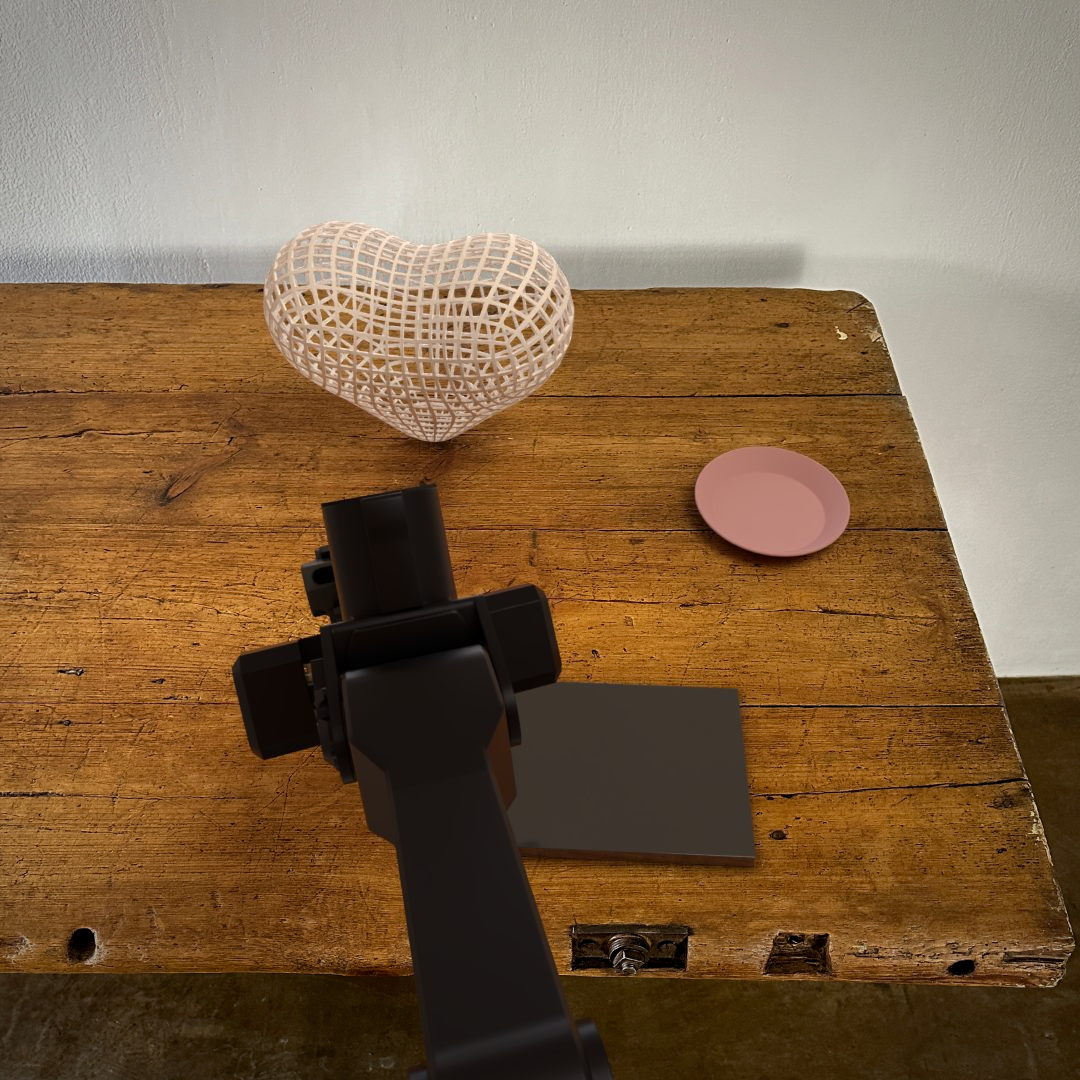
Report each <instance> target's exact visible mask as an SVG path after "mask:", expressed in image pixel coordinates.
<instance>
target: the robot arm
mask: <svg viewBox="0 0 1080 1080" xmlns="http://www.w3.org/2000/svg"><path fill="white" fill-rule="evenodd" d="M438 489H439V488H438V484H437V483H430V484H423V485H418V486H412V487H405V488H401V489H395V490H390V491H389V490H388V491H384V492H379V493H372V494H367V495H360V496H356V497H355V496H354V497H350V498H343V499H339V500H338V499H337V500H332V501H326V502H322V503H320V509H321V513H322V519H323V524H324V529H325V536H326V540H327V545H322V546H319V547H318V548H316V549H314V550H313V552H314V556H315V559H313V560H312V561H308V562H304V563H302V564H301V565H300V573H301V577H302V581H303V586H304V592H305V595H306V598H307V602H308V606H309V609H310V613H311V615H312V617H314V618H318V617H322V616H327V617H328V618H329V622H330V623H327V624H322V625H319V633H318V634H314V635H309V636H306V637H302V638H298V639H294V640H287V641H281V642H277V643H274V644H270V645H265V646H262V647H257V648H253V649H248V650H246V651H241V652H240V654H239V655H238V657H237V658H236V660H235V662H234V663H233V664H232V666H231V673H232V674H231V675H232V680H233V684H234V688H235V692H236V696H237V701H238V705H239V709H240V713H241V718H242V722H243V726H244V730H245V734H246V738H247V742H248V743H247V744H248V746H249V749H250V751H251V753H252V754H253V755H255V756H256V757H258V758H259V759H261V760H262V761H267V760H272V759H275V758H279V757H283V756H287V755H290V754H294V753H298V752H302V751H305V750H308V749H312V748H316V747H319V746H320V748H321V753H322V757H323V760H324V761H325V762H326V763H327V764H329V765H331V766H332V767H334V768H335V770H336V771H337V773H339V775H340V779H341V782H342V784H343V786H346V785H347V786H348V785H351V784H355V783H357V786H358V790H359V794H360V800H361V804H362V808H363V809H362V810H363V813H364V817H365V822H366V827H367V830H368V831H369V832H371V833H372V834H373V835H376V837H379V838H380V839H382V840H385V841H386V842H388V843H389V844H391V845H392V846H394V848H395V854H396V855H395V856H396V861H397V869H398V874H399V882H400V887H401V896H402V902H403V903H402V904H403V909H404V918H405V923H406V930H407V936H408V945H409V950H410V957H411V963H412V970H413V978H414V984H415V990H416V992H415V993H416V998H417V1004H418V1005H417V1006H418V1012H419V1017H420V1025H421V1031H422V1032H421V1033H422V1039H423V1045H424V1053H425V1060H426V1062H423V1063H418V1064H415V1065H412V1066H408V1067H407V1079H408V1080H615V1079H614V1076H613V1072H612V1068H611V1064H610V1061H609V1058H608V1055H607V1051H606V1048H605V1044H604V1043H603V1039H602V1037H601V1034H600V1032H599V1029H598V1027H597V1024H596V1022H595V1021H594V1019H593V1018H592V1017H591V1016H587V1017H584V1018H580V1019H577V1020H575V1019H574V1017H573V1014H572V1011H571V1008H570V1005H569V1002H568V998H567V996H566V993H565V989H564V985H563V983H562V980H561V977H560V974H559V970H558V967H557V965H556V961H555V958H554V955H553V952H552V949H551V945H550V942H549V939H548V935H547V933H546V930H545V926H544V924H543V920H542V917H541V915H540V911H539V908H538V905H537V901H536V899H535V895H534V893H533V889H532V887H531V883H530V880H529V877H528V874H527V871H526V867H525V864H524V861H523V858H522V856H521V855H520V852H519V849H518V845H517V842H516V839H515V836H514V833H513V830H512V827H511V824H510V820H509V817H508V814H507V811H508V809H509V808H510V806H511V804H512V803H513V801H514V800H515V798H516V796H517V791H516V784H515V776H514V769H513V762H512V755H511V747H515V746H519V745H521V742H522V740H521V727H520V720H519V714H518V709H517V704H516V699H515V695H514V694H516V693H520V692H524V691H527V690H531V689H535V688H539V687H542V686H546V685H550V684H554V683H556V682H557V681H558V680H559V678H560V676H561V674H562V672H563V662H562V658H561V653H560V649H559V644H558V639H557V635H556V630H555V626H554V621H553V617H552V613H551V612H552V611H551V608H550V604H549V599H548V597H547V595H546V592H545V591H544V590H543V589H542V588H540V587H539V586H537V585H536V584H535V583H530V582H526V583H522V584H518V585H512V586H509V587H505V588H501V589H497V590H493V591H489V592H486V593H480V594H475V595H471V596H465V597H459V598H458V593H457V587H456V582H455V577H454V571H453V566H452V560H451V555H450V549H449V543H448V539H447V538H448V537H447V533H446V528H445V522H444V515H443V512H442V511H443V510H442V506H441V500H440V495H439V490H438Z"/></svg>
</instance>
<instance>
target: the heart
mask: <svg viewBox="0 0 1080 1080" xmlns="http://www.w3.org/2000/svg"><path fill="white" fill-rule="evenodd" d="M324 232H328V233H324ZM318 239H322V241H321V242H317V241H318ZM328 240H333V242H332V243H329V242H328ZM306 241H307V243H304V244H302V242H306ZM340 241H344V242H345V241H346V242H349V246H348V245H344V244H340ZM327 242H328V243H327ZM374 243H375V244H374ZM354 244H356V246H354ZM377 244H378V245H377ZM492 244H493V245H499V246H492ZM478 245H484V246H478ZM500 245H501V246H500ZM362 246H364V247H362ZM475 246H476V247H475ZM385 247H387V248H385ZM388 248H389V249H388ZM316 252H318V253H316ZM323 252H330V254H325V253H323ZM339 252H350V258H349V257H345V256H342V255H341V256H340V255H339ZM496 252H497V253H502V257H500V256H494V255H493V256H492V254H491V253H496ZM421 254H422V255H421ZM423 254H425V255H423ZM299 255H300V256H299ZM359 255H362V256H365V257H366V262H364V261H361V260H359ZM453 255H456V256H453ZM449 256H451V257H449ZM513 256H516V257H517V259H512V257H513ZM371 258H372V259H374V262H373V264H372V263H371ZM400 258H402V259H405V261H403V260H401V259H400ZM314 259H317V263H314V262H315V261H314ZM538 259H539V260H538ZM323 260H330V261H329V262H327V261H326V262H323ZM301 261H302V266H300V267H296V263H297V262H301ZM415 261H417V262H418V263H415ZM472 261H473V263H474V265H470V266H466V267H464V263H465V262H472ZM486 261H487V262H486ZM379 262H380V266H379ZM385 263H387V264H389V265H390V264H391V265H392V266H391V270H390V269H387V268H385ZM455 263H457V265H456V268H450V265H451V264H455ZM509 265H512V266H515V267H518V268H519V274H517V273H514V272H512V271H509V270H510V269H509ZM496 266H501V268H496ZM286 267H287V272H286ZM339 267H350V271H347V270H342V269H339ZM398 267H402V268H403V267H404V268H405V269H406V272H401V271H400V272H399V271H398ZM437 267H438V269H437ZM358 268H359V269H365V275H362V274H359V273H357V269H358ZM429 268H432V270H431V269H429ZM444 268H446V269H444ZM539 269H540V270H542V271H543V272H545V273H544V274H545V276H544V275H542V274H541V273H540V272H539ZM370 271H372V274H371V277H370ZM412 271H415V272H418V273H412ZM525 271H526V273H525ZM279 272H280V276H279V277H278V273H279ZM471 272H474V275H473V276H472V279H470V280H469V279H467V275H466V273H471ZM482 272H485V273H490V276H491V277H490V278H485V279H482V277H481V273H482ZM315 273H319V278H320V280H319V281H316V277H315ZM324 273H325V274H330V278H327V279H325V274H324ZM377 273H379V279H377V278H376V277H377ZM302 274H304V277H305V278H304V279H305V280H306V285H300V286H299V283H298V279H297V276H298V275H302ZM460 274H462V279H463V280H459V278H460V276H461V275H460ZM496 274H497V276H496ZM384 275H385V276H388V277H389V281H388V282H385V281H383V280H384ZM452 275H453V277H452ZM532 275H533V277H532ZM340 276H344V277H340ZM442 276H447V279H448V281H447V282H441V279H442ZM347 277H349V278H347ZM432 277H433V281H434V284H433V283H427V282H426V278H432ZM415 279H419V280H415ZM286 280H289V284H290V285H289V286H290V288H288V284H287V282H286ZM397 280H400V281H402V282H404V285H401V284H397ZM511 281H520V284H519V286H518V288H514V287H512V286H511V285H512V284H511ZM341 282H344V283H350V286H349V288H345V287H342V286H341ZM501 282H506V285H505V284H502V283H501ZM330 283H331V285H327V284H330ZM555 283H556V284H555ZM280 284H282V287H283V290H284V291H283V292H282V293H281V291H280V287H279V285H280ZM357 285H360V286H364V287H363V291H359V290H357ZM527 285H528V286H529V287H531V288H532V289H533V290H534V293H530V292H526V286H527ZM540 285H544V286H546V287H545V289H543V288H542V287H540ZM477 286H479V287H478V288H479V292H480V296H481V297H472V295H473V293H474V290H475V288H476V287H477ZM484 287H491V288H490V290H489V292H488V295H487V296H485V290H484ZM368 288H370V293H367V291H368ZM457 289H464V291H465V296H463V297H455V291H456V290H457ZM498 289H500V290H503V291H506V292H507V294H506V293H505V294H499V291H498ZM318 290H322V291H326V294H327V296H326V297H324V298H322V299H320V298H319V295H318ZM375 290H377V292H376V295H375ZM398 290H402V291H403V292H402V291H398ZM427 290H432V294H431V298H427V297H425V291H427ZM440 290H448V294H447V298H440ZM307 291H309V292H310V293H311V295H312V297H313V302H314V303H313V304H308V302H307V301H306V299H305V297H304V296H303V293H305V292H307ZM331 291H332V292H331ZM410 291H417V295H412V294H410ZM382 292H384V293H387V296H386V298H385V297H381V293H382ZM552 292H553V294H554V296H555V297H556V299H555V302H554V301H553V299H552V298H551V294H552ZM273 293H274V295H275V300H274V297H273ZM340 293H341V294H342V295H344V296H346V297H347V298H346V299H345V300H344V302H343V303H342V304H341V303H340V302H339V299H338V295H340ZM395 296H397V297H401V298H402V300H395ZM562 296H563V297H562ZM572 296H573V295H572V292H571V289H570V283H569V281H568V278H567V277H566V275H565V274H564V272H563V271H562V269H561V268H560V265H559V264H558V263H557V261H556V260H555V258H554V257H553V256H552V255H551V254H550V253H549V252H548V251H546V250H545V249H544V248H542V247H541V245H538V244H537V243H536V242H535V241H532V240H530V239H528V238H524V237H523V236H519V235H516V234H513V233H507V232H485V233H479V234H473V235H472V234H471V235H468V236H463V237H461V238H457V239H453V240H449V241H445V242H440V243H435V244H433V243H432V244H421V243H417V242H411V241H409V240H406V239H404V238H401V237H399V236H397V235H395V234H392V233H391V232H388V231H386V230H383V229H381V228H379V227H375V226H373V225H370V224H367V223H363V222H357V221H349V220H348V221H347V220H331V221H325V222H322V223H318V224H314V225H312V226H309V227H307V228H305V229H303V230H302V231H300V232H299V233H297V234H296V235H295V236H294V237H292V238H291V239H289V240H288V241H287V242H286V243H285V244H283V246H282V247H281V248H280V249H279V251H278V252H277V254H276V255H275V257H274V259H273V261H272V263H271V265H270V266H269V269H268V271H267V274H266V276H265V279H264V286H263V300H262V301H263V304H262V305H263V315H264V320H265V324H266V326H267V328H268V331H269V333H270V336H271V339H272V340H273V342H274V344H275V346H276V348H277V349H278V351H279V353H280V354H281V355H282V356H283V357H284V358H285V360H286V361H287V362H288V363H289V364H290V365H291V366H292V367H293V368H294V369H295V370H296V371H297V372H299V373H300V374H301V375H302V376H304V377H305V378H306V379H308V380H309V381H311V382H313V383H314V384H316V385H317V386H319V387H320V388H322V389H324V390H325V391H328V392H330V393H331V394H333V395H335V396H337V397H339V398H341V399H344V400H345V401H347V402H349V403H351V404H353V405H354V406H356V407H358V408H360V409H361V410H363V411H365V412H366V413H368V414H370V415H372V416H374V417H375V418H377V419H379V420H381V422H384V423H386V424H388V425H389V426H391V427H392V428H394V429H396V430H398V431H399V432H400V433H403V434H404V435H407V436H409V437H411V438H414V439H417V440H420V441H424V442H429V443H430V442H431V443H432V442H433V443H436V442H437V443H438V442H444V441H448V440H450V439H453V438H456V437H457V436H460V435H461V434H463V433H465V432H467V431H469V430H470V429H472V428H474V427H476V426H477V425H479V424H481V423H483V422H485V421H486V420H488V419H489V418H491V417H493V416H495V415H497V414H499V413H501V412H502V411H504V410H507V409H508V408H510V407H512V406H514V405H516V404H517V403H519V402H521V401H523V400H524V399H526V398H528V397H529V396H530V395H532V394H533V393H534V392H535V391H537V390H538V389H539V388H541V387H542V386H543V385H544V384H545V383H546V382H547V381H548V380H549V378H551V376H552V375H553V374H554V373H555V372H556V370H557V369H558V368H559V366H560V365H561V364H562V361H563V359H564V357H565V355H566V352H567V350H568V349H569V346H570V342H571V340H572V337H573V329H574V321H575V305H574V301H573V298H572ZM519 298H521V299H522V309H521V310H519V309H517V308H515V304H516V302H517V301H518V299H519ZM293 299H294V300H293ZM351 299H352V309H350V308H346V306H347V304H348V303H349V302H350V300H351ZM366 299H368V300H366ZM369 299H370V300H369ZM506 299H507V300H508V301H509V303H508V304H506V303H504V302H500V300H506ZM330 300H332V302H333V305H334V306H332V305H324V304H325V303H327V302H329V301H330ZM409 300H411V301H409ZM288 302H289V304H290V306H291V308H287V307H286V304H287V303H288ZM357 302H359V305H358V307H357ZM379 302H382V303H386V305H382V304H379ZM527 302H528V303H529V304H530V305H532V306H531V307H527ZM472 304H482V309H481V312H480V314H479V315H474V314H473V307H472V306H473V305H472ZM363 305H367V306H369V313H368V312H364V311H361V310H362V308H363ZM393 305H398V306H401V309H399V308H395V307H393ZM441 305H445V306H444V307H445V308H444V311H443V312H444V313H443V315H441V311H440V310H441V309H440V308H441V307H440V306H441ZM457 305H462V308H461V311H460V315H457V313H458V312H457ZM490 305H491V306H495V307H496V309H497V313H498V314H492V315H490V314H489V313H488V308H489V306H490ZM424 306H429V313H424ZM548 306H550V307H551V308H552V312H551V314H550V316H549V315H548V313H547V312H546V311H547V308H548ZM408 307H415V311H410V310H408ZM451 308H452V309H451ZM450 309H451V310H452V315H450ZM502 309H505V310H504V311H503V312H502ZM313 310H315V312H316V313H315V312H314V311H313ZM322 310H323V311H324V312H325V313H326V314H327V316H328V317H327V318H325V319H324V320H323V318H322V312H321V311H322ZM377 310H383V311H386V312H385V316H382V315H377V314H376V313H377V312H376V311H377ZM467 310H468V315H466V314H467ZM280 311H282V314H281V315H280ZM331 311H333V313H332V312H331ZM292 313H295V314H296V315H295V316H294V317H293V318H292V316H291V314H292ZM308 313H309V314H310V315H311V316H312V317H313V318H314V320H315V321H316V322H317V324H310V323H309V322H308V320H307V319H306V317H305V315H307V314H308ZM340 313H345V314H349V315H351V316H352V318H351V319H350V320H349V321H348V322H347V324H345V323H344V322H342V321H341V320H340ZM392 313H395V314H399V315H400V318H394V317H391V314H392ZM536 314H537V316H536ZM407 316H413V317H414V319H407ZM517 316H518V317H519V318H521V319H523V321H522V322H521V323H520V324H519V322H518V318H517ZM535 316H536V317H535ZM509 317H512V321H513V323H514V327H515V329H514V328H512V327H509V326H507V325H506V324H505V320H506V319H507V318H509ZM368 318H369V319H368ZM424 318H425V319H424ZM426 318H427V319H426ZM497 319H499V321H494V320H497ZM540 319H542V320H543V321H544V322H545V324H544V325H543V326H542V327H541V328H540V329H539V328H538V327H537V325H536V322H537V321H539V320H540ZM285 320H287V321H288V324H286V323H285ZM299 320H300V322H301V323H297V322H298V321H299ZM358 320H359V321H362V322H364V323H366V326H365V328H364V329H363V331H358V323H357V322H358ZM374 320H379V321H383V322H384V323H380V322H376V321H374ZM331 321H333V322H335V326H329V325H328V326H327V324H328V323H330V322H331ZM564 321H565V324H564ZM390 323H396V324H400V326H396V325H390ZM441 323H442V330H441ZM448 323H452V325H453V330H448ZM464 323H469V326H470V332H465V331H464V332H463V328H464V327H463V326H464ZM475 323H476V328H475ZM406 324H410V325H411V324H412V325H414V327H407V326H406ZM423 324H424V325H425V324H428V329H427V328H423ZM434 324H435V329H434V328H433V327H434V326H433V325H434ZM482 324H483V325H485V328H486V333H480V331H481V328H482ZM351 326H352V327H353V329H352V328H350V327H351ZM491 326H494V327H495V330H494V332H493V333H492V331H491ZM341 327H342V328H341ZM374 327H377V328H381V329H382V332H381V335H380V334H374ZM529 327H530V328H531V330H532V332H533V333H534V335H532V336H530V337H529V338H527V339H525V336H524V334H523V332H522V331H524V330H526V329H527V328H529ZM500 329H501V332H500ZM308 330H309V332H308ZM389 330H390V331H399V337H397V336H396V337H395V336H390V334H389V333H390V331H389ZM295 331H297V333H298V334H299V335H300V336H301V337H302V338H301V337H298V336H296V335H294V334H295ZM324 331H325V332H328V333H329V334H330V335H331V336H333V338H332V339H330V340H329V341H328V340H327V339H325V337H324V336H325V334H324ZM368 332H369V333H368ZM405 332H414V333H413V334H414V337H413V338H408V337H407V338H405ZM549 332H551V333H549ZM423 333H426V334H427V338H423ZM548 333H549V335H548V336H547V337H546V338H545V336H546V335H547V334H548ZM433 334H434V335H435V338H433ZM343 335H349V336H353V343H352V344H350V343H349V342H348V341H346V340H344V339H343V338H342V336H343ZM313 336H316V337H317V338H318V339H319V343H318V342H313V340H311V338H313ZM447 336H453V338H447ZM508 336H509V337H508ZM462 337H469V338H462ZM501 337H503V339H504V341H502V340H501V341H500V340H496V339H497V338H501ZM479 338H481V339H479ZM482 338H483V339H482ZM516 338H517V339H518V340H519V341H520V343H518V344H516V345H513V346H512V345H511V343H512V341H513V340H514V339H516ZM375 340H379V343H378V342H376V341H375ZM551 340H553V343H552V344H551V345H550V346H549V345H548V343H549V342H550V341H551ZM362 341H365V342H367V343H368V344H369V351H364V350H359V349H358V345H360V343H361V342H362ZM390 342H394V343H390ZM538 342H539V343H540V344H539V345H537V347H535V348H534V349H533V350H531V348H532V347H533V346H534V345H535V344H536V343H538ZM334 343H336V346H335V345H334V346H333V344H334ZM295 344H296V345H297V347H298V348H296V347H295ZM342 344H343V345H345V346H346V347H347V348H344V347H342V346H341V345H342ZM447 344H453V346H451V345H447ZM462 344H468V345H470V348H464V347H462ZM478 345H488V352H489V353H488V352H483V351H480V350H478ZM374 346H375V347H376V348H374ZM495 346H505V348H506V349H503V350H501V351H498V352H496V351H495ZM309 348H314V349H315V350H316V351H317V352H318V354H317V356H315V355H314V354H313V353H312V352H311V351H310V349H309ZM394 348H399V353H400V355H396V354H389V352H390V349H394ZM405 348H414V356H408V355H407V356H406V355H405ZM423 348H428V356H429V357H423ZM434 349H435V357H434ZM440 349H441V350H442V357H440V351H441V350H440ZM448 350H451V351H452V357H448ZM540 350H542V352H541V353H539V354H538V355H537V356H534V355H535V354H536V353H537V352H539V351H540ZM327 351H329V352H333V353H336V360H335V359H334V358H332V357H331V356H330V355H329V354H327ZM379 351H380V353H378V352H379ZM462 352H463V353H469V354H470V356H469V357H466V358H465V357H463V356H462ZM524 352H525V354H524V356H523V355H522V357H520V358H517V356H519V355H520V354H522V353H524ZM552 352H553V353H552ZM349 355H352V357H353V358H352V359H353V360H352V359H350V358H349V357H348V356H349ZM359 356H360V357H361V358H363V359H362V360H361V362H359V363H358V362H357V360H358V358H357V357H359ZM478 356H481V357H478ZM374 359H382V360H384V361H385V363H384V365H383V366H381V367H380V368H379V369H378V368H377V366H376V365H375V364H374V361H373V360H374ZM327 360H328V361H327ZM344 360H345V361H346V362H348V365H347V364H342V362H344ZM390 360H391V361H390ZM505 360H509V364H508V365H506V366H504V367H503V366H502V364H501V363H500V362H502V361H505ZM525 360H527V361H526V362H524V363H522V362H523V361H525ZM302 361H303V362H302ZM540 362H541V365H540V366H539V365H538V364H539V363H540ZM304 363H305V364H304ZM357 363H358V364H357ZM366 363H368V367H363V366H364V365H365V364H366ZM407 363H409V364H410V363H415V364H416V366H415V367H416V371H417V372H410V371H409V369H408V364H407ZM423 363H427V364H428V363H429V365H430V369H431V373H429V372H427V373H426V372H424V364H423ZM520 363H522V364H520ZM440 364H443V366H444V369H445V373H446V374H442V373H440ZM479 364H485V365H484V366H483V368H482V369H480V365H479ZM396 365H401V366H400V367H401V371H399V370H398V371H397V370H394V369H393V367H392V366H396ZM450 365H451V367H450ZM473 365H474V366H473ZM490 365H492V370H493V372H491V373H486V372H487V371H488V369H489V367H490ZM318 366H320V367H321V369H319V368H318ZM456 366H457V367H458V368H459V372H460V374H455V369H456ZM465 369H466V370H465ZM498 370H499V371H498ZM471 371H472V372H475V373H476V374H470V372H471ZM327 372H328V373H327ZM342 372H343V373H345V374H346V375H348V377H344V376H343V377H342ZM525 372H527V375H526V376H525ZM358 373H361V374H362V375H363V376H364V377H365V378H366V379H367V380H360V379H359V378H358V377H357V375H358ZM511 374H512V375H511ZM508 375H511V376H510V377H508ZM377 376H378V377H379V378H380V379H381V380H382V382H378V381H377V382H376V381H374V379H375V378H376V377H377ZM384 376H385V378H384ZM391 377H393V378H394V379H393V380H391ZM500 377H503V379H504V381H503V382H502V383H501V381H500V380H501V379H500ZM518 377H519V378H518ZM412 378H414V379H415V378H416V379H418V381H419V385H420V386H417V385H414V384H413V381H412ZM425 379H426V380H427V379H428V380H433V381H434V387H430V386H426V380H425ZM533 379H534V380H533ZM440 380H442V381H447V387H446V388H444V387H443V388H442V385H441V383H440ZM484 380H485V381H486V382H487V383H486V385H485V383H484ZM531 380H532V381H531ZM400 381H402V382H403V383H402V384H401V383H400ZM454 381H456V382H459V383H461V384H460V386H459V388H457V387H456V385H455V382H454ZM470 381H475V382H474V383H472V382H470ZM342 383H343V384H344V385H343V384H342ZM495 383H496V385H495ZM358 386H360V387H361V388H360V389H359V388H358ZM478 386H479V387H478ZM464 387H465V388H464ZM505 388H506V390H504V389H505ZM375 389H377V391H379V392H375ZM393 389H395V390H400V391H401V394H396V393H395V391H394V390H393ZM385 392H387V393H385ZM420 392H422V396H423V397H422V396H417V395H418V394H417V393H420ZM489 392H491V393H489ZM429 393H434V397H430V396H429ZM411 394H413V396H412V395H411ZM462 394H463V395H462ZM464 394H465V395H466V394H467V395H466V397H465V396H464ZM475 394H477V396H476V395H475ZM438 395H439V396H440V398H438ZM449 395H451V396H454V398H453V399H452V398H448V397H449ZM382 398H384V399H386V400H387V401H384V399H382ZM403 401H406V402H407V403H404V402H403ZM413 401H414V402H416V403H414V402H413ZM398 402H399V403H398ZM487 402H489V403H487ZM455 404H457V405H459V404H460V405H459V406H457V407H456V406H455ZM475 404H476V405H475ZM474 405H475V406H474ZM382 406H384V407H382ZM401 408H403V409H404V410H403V409H401ZM417 410H419V411H417ZM424 410H425V411H426V412H425V411H424ZM423 411H424V412H423ZM437 411H440V413H439V412H438V413H437ZM444 412H448V413H444ZM425 417H427V418H425Z"/></svg>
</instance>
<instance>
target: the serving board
mask: <svg viewBox="0 0 1080 1080" xmlns="http://www.w3.org/2000/svg"><path fill="white" fill-rule="evenodd" d="M514 695H515V699H516V704H517V709H518V714H519V720H520V727H521V740H522V742H521V745H519V746H515V747H511V755H512V762H513V769H514V776H515V784H516V791H517V796H516V798H515V800H514V801H513V803H512V804H511V806H510V808H509V809H508V811H507V814H508V817H509V820H510V824H511V827H512V830H513V833H514V836H515V839H516V842H517V845H518V849H519V852H520V855H521V857H529V858H530V857H531V858H552V859H553V858H555V859H573V860H575V859H577V860H598V861H599V860H601V861H618V862H619V861H621V862H640V863H641V862H642V863H643V862H644V863H663V864H665V863H666V864H687V865H705V866H706V865H709V866H730V867H754V864H755V862H756V859H757V853H756V843H755V833H754V825H753V816H752V815H753V814H752V807H751V797H750V789H749V779H748V770H747V760H746V752H745V743H744V734H743V724H742V715H741V707H740V696H739V695H740V694H739V688H732V687H707V686H687V685H686V686H683V685H682V686H681V685H661V684H660V685H658V684H656V685H655V684H637V683H636V684H632V683H612V682H610V683H609V682H586V681H562V680H560V681H558V680H557V682H556V683H554V684H550V685H546V686H542V687H539V688H535V689H531V690H527V691H524V692H520V693H516V694H514Z"/></svg>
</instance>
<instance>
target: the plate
mask: <svg viewBox="0 0 1080 1080" xmlns="http://www.w3.org/2000/svg"><path fill="white" fill-rule="evenodd" d="M694 499H695V504H696V508H697V510H698V512H699V514H700V516H701V517H702V519H703V521H705V523H706V524H707V525H708V526H709V528H710V529H711V530H713V532H715V533H716V534H717V535H718V536H719V537H721V538H722V539H724V540H726V541H727V542H729V543H730V544H732V545H734V546H736V547H738V548H741V549H743V550H746V551H749V552H752V553H755V554H760V555H764V556H771V557H783V558H784V557H785V558H786V557H799V556H805V555H809V554H813V553H816V552H819V551H820V550H823V549H825V548H827V547H828V546H830V545H832V544H834V542H836V541H837V540H838V539H839V538H840V537H841V536H842V534H843V533H844V531H845V530H846V528H847V526H848V524H849V521H850V516H851V504H850V499H849V497H848V494H847V491H846V490H845V488H844V486H843V484H842V482H840V480H839V479H838V478H837V477H836V476H835V475H834V474H833V473H832V472H831V471H830V470H829V469H828V468H826V466H823V465H822V464H820V463H819V462H818V461H816V460H814V459H812V458H810V457H808V456H807V455H803V454H801V453H800V452H796V451H793V450H790V449H784V448H780V447H773V446H747V447H746V446H745V447H741V448H736V449H733V450H730V451H727V452H724V453H722V454H720V455H718V456H717V457H714V459H712V460H711V461H709V463H707V464H706V465H705V466H704V467H703V469H702V470H701V472H700V473H699V475H698V476H697V479H696V482H695V486H694Z"/></svg>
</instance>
